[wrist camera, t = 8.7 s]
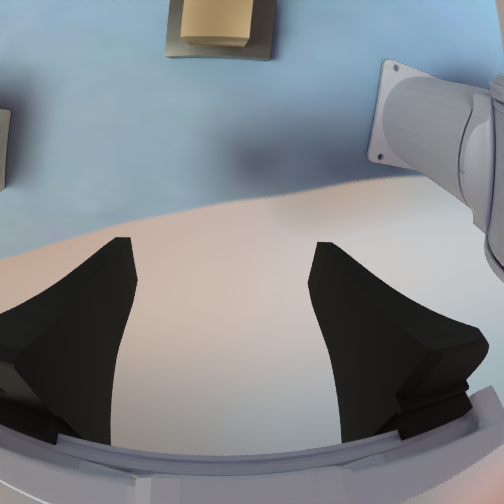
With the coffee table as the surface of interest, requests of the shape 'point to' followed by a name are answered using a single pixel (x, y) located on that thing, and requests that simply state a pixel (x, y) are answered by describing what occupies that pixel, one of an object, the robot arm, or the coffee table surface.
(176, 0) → the rest block
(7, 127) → the supplement box
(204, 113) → the coffee table surface
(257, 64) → the coffee table surface
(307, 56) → the coffee table surface
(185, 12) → the rail
